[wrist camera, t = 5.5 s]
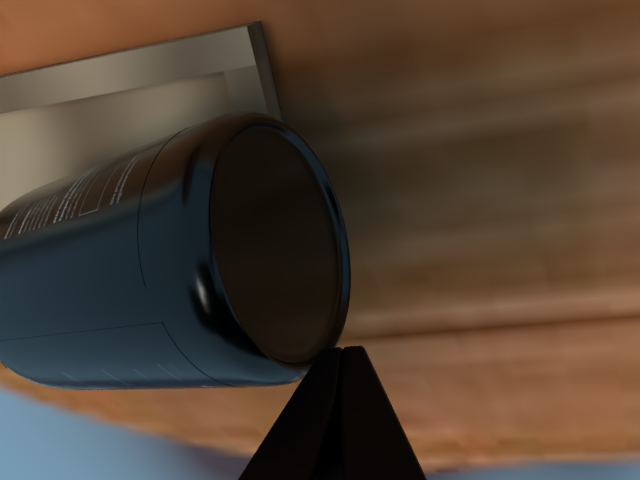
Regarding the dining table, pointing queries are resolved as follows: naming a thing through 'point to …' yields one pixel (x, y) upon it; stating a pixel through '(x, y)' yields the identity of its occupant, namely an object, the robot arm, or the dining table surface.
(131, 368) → the supplement bottle
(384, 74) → the dining table surface
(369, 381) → the robot arm
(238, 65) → the metal tray
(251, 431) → the dining table surface
